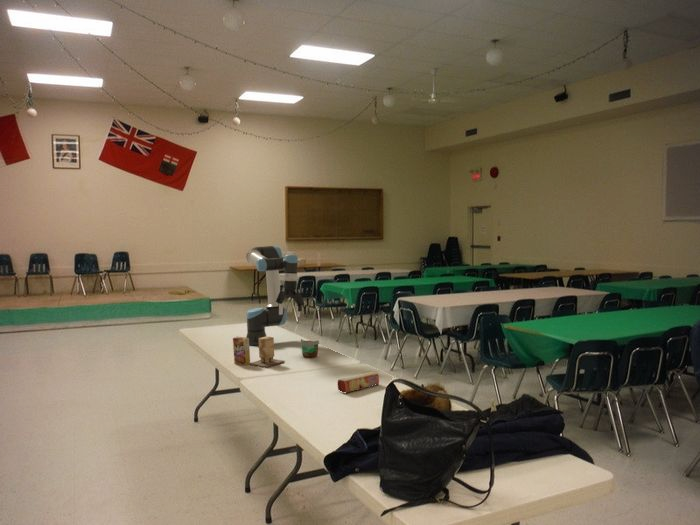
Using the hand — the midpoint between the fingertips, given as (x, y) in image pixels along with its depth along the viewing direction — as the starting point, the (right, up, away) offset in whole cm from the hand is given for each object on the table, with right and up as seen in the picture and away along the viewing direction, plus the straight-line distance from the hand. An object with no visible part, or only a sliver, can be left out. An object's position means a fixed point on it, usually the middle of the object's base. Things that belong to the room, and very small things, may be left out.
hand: (289, 315), depth 331 cm
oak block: (-11, -22, -17) cm, 30 cm away
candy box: (-25, -26, -15) cm, 40 cm away
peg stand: (-11, -26, -17) cm, 33 cm away
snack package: (+41, -28, -69) cm, 85 cm away
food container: (+12, -24, -5) cm, 27 cm away
